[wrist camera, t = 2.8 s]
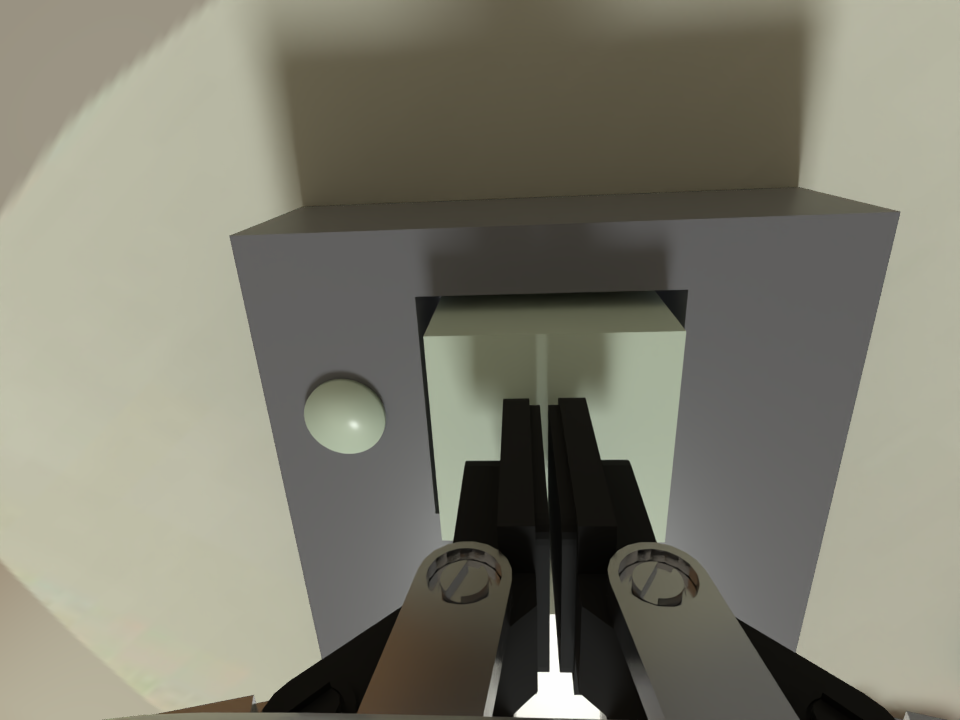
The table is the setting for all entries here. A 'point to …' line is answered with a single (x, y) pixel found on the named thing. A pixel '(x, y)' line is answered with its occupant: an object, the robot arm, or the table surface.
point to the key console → (567, 269)
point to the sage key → (556, 381)
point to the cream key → (556, 686)
